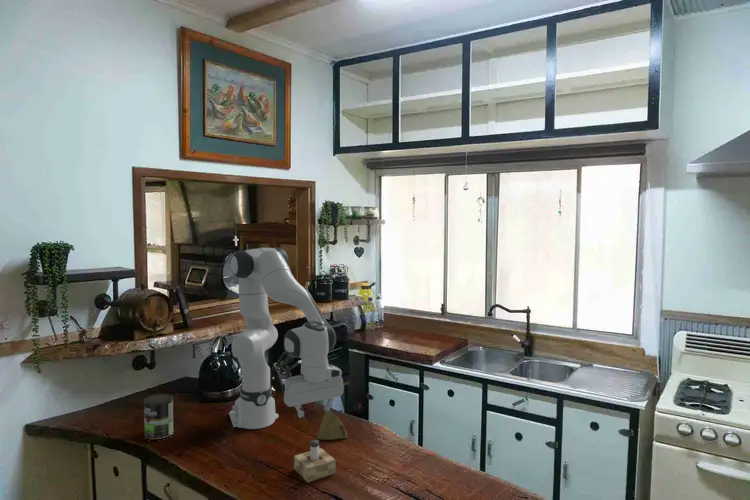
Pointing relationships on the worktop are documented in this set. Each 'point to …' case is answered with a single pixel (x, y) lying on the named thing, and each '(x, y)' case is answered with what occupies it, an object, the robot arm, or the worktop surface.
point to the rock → (331, 427)
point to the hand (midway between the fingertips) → (314, 413)
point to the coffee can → (158, 416)
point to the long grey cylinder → (314, 450)
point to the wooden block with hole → (314, 465)
